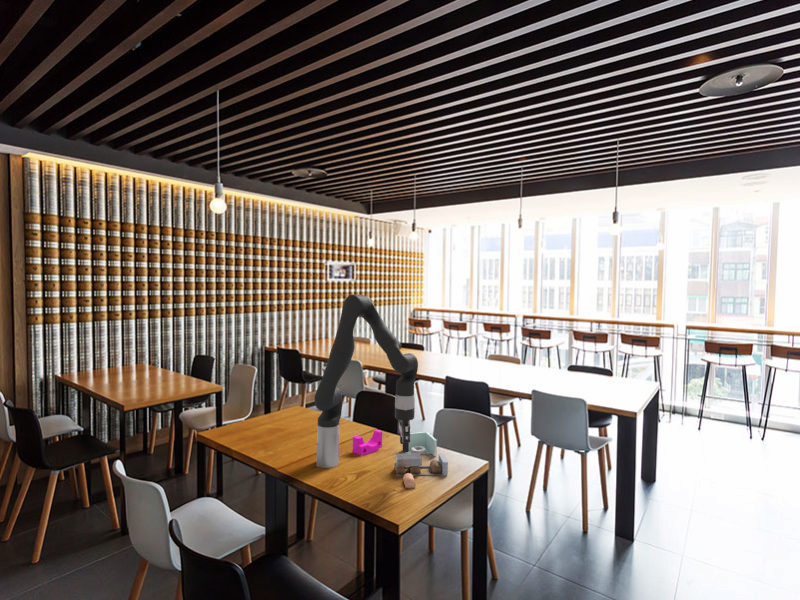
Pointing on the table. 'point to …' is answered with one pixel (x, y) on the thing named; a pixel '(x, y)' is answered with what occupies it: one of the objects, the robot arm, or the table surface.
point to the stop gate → (443, 464)
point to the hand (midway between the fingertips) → (404, 447)
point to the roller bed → (416, 471)
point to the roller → (409, 481)
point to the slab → (408, 460)
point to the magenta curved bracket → (367, 444)
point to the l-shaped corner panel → (422, 443)
